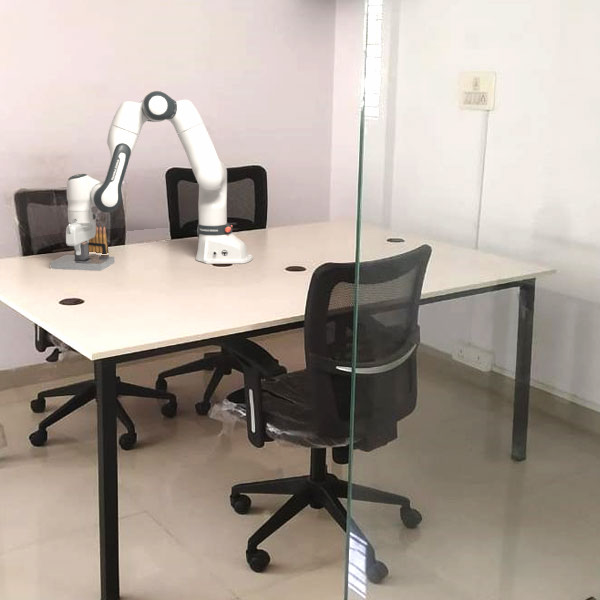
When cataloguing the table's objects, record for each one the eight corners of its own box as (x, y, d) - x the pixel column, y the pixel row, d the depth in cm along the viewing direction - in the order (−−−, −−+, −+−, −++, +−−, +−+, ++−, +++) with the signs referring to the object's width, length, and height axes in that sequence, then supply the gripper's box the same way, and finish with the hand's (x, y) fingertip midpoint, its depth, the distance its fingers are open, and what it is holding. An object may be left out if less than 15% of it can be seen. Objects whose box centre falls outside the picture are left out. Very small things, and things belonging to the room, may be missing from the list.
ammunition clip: (84, 254, 369) (82, 225, 366) (87, 253, 371) (85, 224, 368) (106, 256, 365) (104, 226, 362) (108, 255, 367) (107, 226, 364)
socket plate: (114, 262, 353) (114, 254, 352) (100, 270, 339) (100, 261, 339) (66, 261, 356) (65, 252, 355) (50, 268, 343) (50, 260, 342)
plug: (88, 257, 349) (88, 241, 347) (84, 260, 345) (83, 243, 343) (79, 257, 349) (78, 241, 348) (74, 259, 346) (74, 243, 344)
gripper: (76, 222, 333) (78, 259, 336) (98, 213, 352) (99, 248, 356) (60, 221, 334) (62, 258, 337) (82, 213, 353) (84, 248, 357)
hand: (81, 253), depth 347 cm, fingers closed on plug, 4 cm apart
